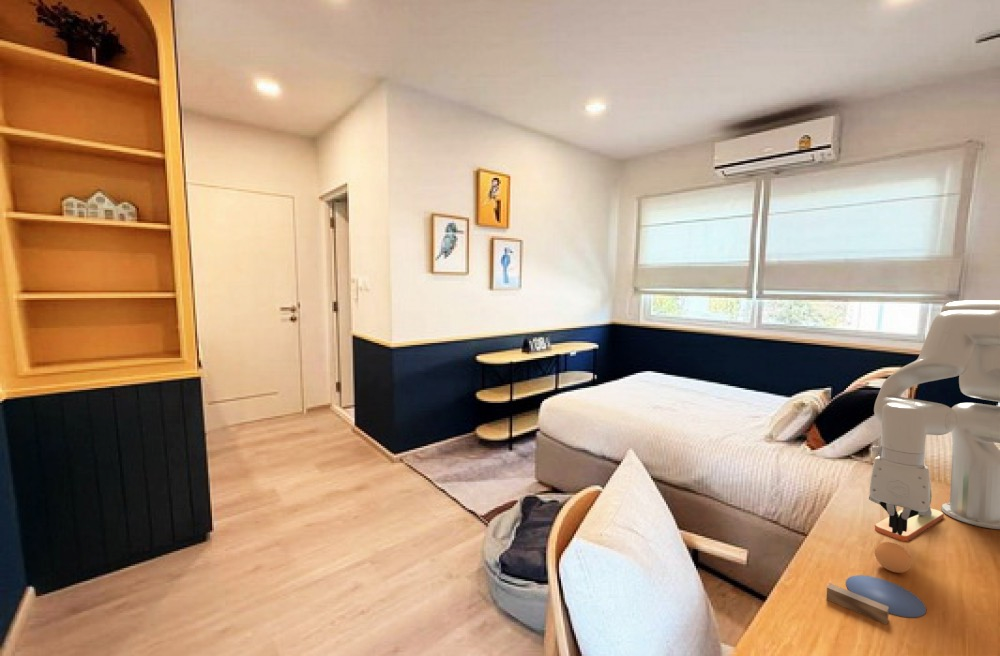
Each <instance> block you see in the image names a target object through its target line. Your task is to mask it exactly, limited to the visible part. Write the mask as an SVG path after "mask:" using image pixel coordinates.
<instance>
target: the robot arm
mask: <svg viewBox="0 0 1000 656" xmlns="http://www.w3.org/2000/svg"><path fill="white" fill-rule="evenodd" d="M940 311H941V312H940V313H939V314H937V315H936V316H935V317H934V318H933V321H932V322H931V325H930V327H929V330H928V332H927V334H926V338H925V340H924V343H923V346H922V348H921V349H920V352H919V356H918V357H917V359H916V360H914V361H912V362H910V363H908V364H906V365H904V366H902V367H900V368H899V369H898V370H896V371H894V372H893V373H892V374H891V375H889V376H888V377H887V378H886V379H885V380H884V381H883V383H882V385H881V387H880V390H879V392H878V395H877V397H876V399H875V402H874V407H873V413H874V417H875V418H876V419H877V421H879V422H880V423H881V429H880V445H872V446H871V451H872V452H875V453H877V454H878V455H877V456H876V457H875V458H874V462H873V465H872V468H871V475H870V482H869V496H868V500H869V501H871V502H873V503H874V504H878V505H880V506H881V507H882V508H883V509H884V510H885V511H886V513H887V515H889V516H888V517H889V527H891V528H892V533H897V534H898V535H902V533H903V531H905V532H906V531H907V519H908V518H911V517H913V516H916V515H922V516H931V514H932V512H931V504H930V502H931V503H932V489H931V488H932V482H931V476H930V470H929V466H927V465H926V464H925V456H926V451H925V450H926V437H927V435H929V436H943V435H947V434H949V433H950V432H951V433H950V434H951V443H952V445H951V446H952V450H951V451H952V452H951V471H950V472H951V473H950V490H949V502H945V503H942V504H941V512H942V513H943V514H944V515H945V514H946V515H947V516H949V517H951V518H953V519H955V520H956V521H957V520H958V521H960V522H963V523H965V524H968V525H973V526H976V527H981V528H986V529H992V530H1000V448H999V447H998V446H997V445H996V444H995V443H997V444H1000V406H999V405H992V404H985V403H984V404H983V403H978V402H977V403H976V402H960V403H957V404H954V405H953V406H952V407H950V406H948V405H946V404H943V403H938V402H933V401H927V400H921V399H916V398H915V399H914V398H910V397H903V396H902V394H904V393H905V391H907V390H908V389H910V388H912V387H914V386H917V385H920V384H924V383H928V382H934V381H939V380H944V379H949V378H954V377H958V376H959V377H958V384H959V389H960V392H961V393H962V394H963V395H965V396H967V397H970V398H974V399H980V400H986V401H992V402H999V403H1000V299H999V300H997V299H995V300H994V299H993V300H990V299H987V300H985V299H983V300H981V299H980V300H978V299H976V300H973V299H972V300H970V299H969V300H956V301H952V302H947V303H946V304H944V305H943V306H942V307H941V310H940ZM895 505H896V506H897V507H900V508H902V509H903V511H902V513H900V515H899V514H898V513H897V512H898V510H897V508H896V507H895Z"/></svg>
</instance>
